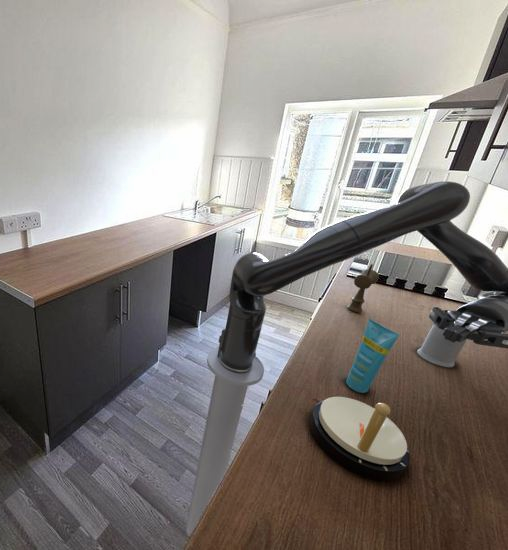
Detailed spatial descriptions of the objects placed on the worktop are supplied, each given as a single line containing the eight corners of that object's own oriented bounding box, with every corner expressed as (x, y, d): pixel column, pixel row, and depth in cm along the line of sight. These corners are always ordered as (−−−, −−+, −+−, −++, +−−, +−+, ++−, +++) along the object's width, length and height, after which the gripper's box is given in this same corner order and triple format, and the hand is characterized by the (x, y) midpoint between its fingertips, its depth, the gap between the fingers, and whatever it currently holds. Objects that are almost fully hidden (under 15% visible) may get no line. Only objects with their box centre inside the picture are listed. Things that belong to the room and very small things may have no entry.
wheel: (320, 391, 72) (337, 348, 66) (398, 422, 64) (423, 376, 59) (315, 437, 60) (335, 389, 55) (410, 481, 53) (443, 430, 47)
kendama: (366, 309, 120) (385, 263, 112) (358, 316, 114) (378, 269, 106) (349, 303, 124) (366, 259, 116) (341, 310, 118) (358, 263, 110)
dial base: (292, 424, 66) (296, 414, 65) (337, 399, 74) (341, 390, 73) (375, 498, 53) (382, 487, 52) (419, 458, 60) (426, 448, 59)
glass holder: (410, 351, 95) (431, 311, 89) (437, 344, 99) (458, 305, 93) (443, 369, 87) (468, 326, 81) (471, 360, 92) (496, 319, 86)
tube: (337, 378, 81) (362, 318, 73) (350, 375, 83) (375, 316, 75) (364, 398, 75) (393, 335, 67) (377, 394, 76) (407, 332, 69)
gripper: (452, 289, 67) (416, 302, 59) (543, 317, 56) (514, 339, 49) (437, 317, 70) (401, 334, 62) (521, 349, 59) (490, 374, 52)
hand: (451, 336), depth 55 cm, fingers closed
